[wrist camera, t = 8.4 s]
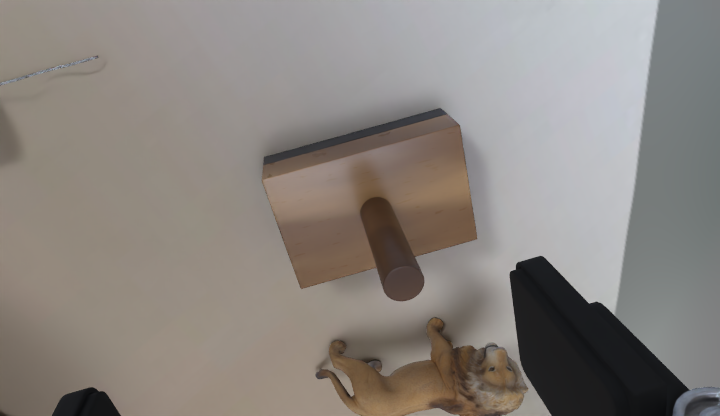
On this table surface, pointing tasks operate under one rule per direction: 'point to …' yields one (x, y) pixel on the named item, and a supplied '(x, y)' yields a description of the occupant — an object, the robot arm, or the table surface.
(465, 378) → the lion figurine
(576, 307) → the robot arm
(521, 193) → the table surface
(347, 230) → the scrubbing brush
